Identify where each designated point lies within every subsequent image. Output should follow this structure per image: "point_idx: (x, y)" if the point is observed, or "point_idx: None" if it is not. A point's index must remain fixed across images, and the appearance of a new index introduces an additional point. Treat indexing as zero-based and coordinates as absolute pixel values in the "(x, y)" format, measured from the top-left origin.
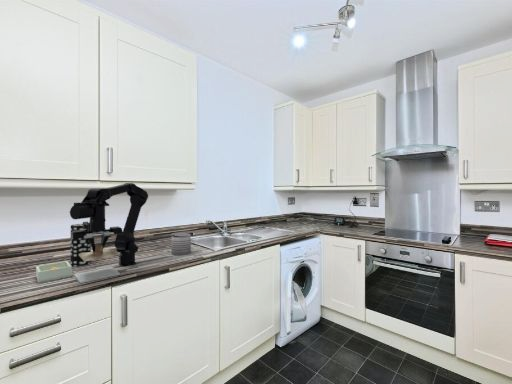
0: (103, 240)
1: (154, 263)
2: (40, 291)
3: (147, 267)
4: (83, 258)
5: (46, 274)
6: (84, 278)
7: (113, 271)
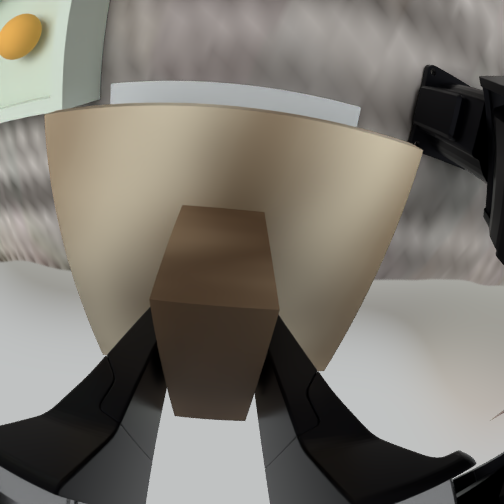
0: (265, 470)
1: (484, 234)
2: (13, 235)
3: (437, 263)
4: (93, 331)
5: None
6: None
7: None
